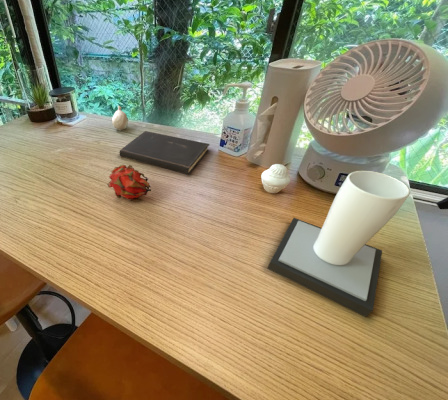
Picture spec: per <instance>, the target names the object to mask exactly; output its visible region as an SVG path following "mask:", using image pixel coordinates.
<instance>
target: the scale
mask: <svg viewBox="0 0 448 400" xmlns="http://www.w3.org/2000/svg"><path fill="white" fill-rule="evenodd" d="M321 229H322V226H318V225H315V224H312V223H311V222H310V223H309V222H307V221H304V220H302V219H299V218H296V217H293V218H292V220H291V222H290V223H289V226H288V227H287V229H286V231H285V232H284V235H283V236H282V238H281V240H280V242H279V243H278V246H277V247H276V250H275V252H274V254H273V255H272V258H271V259H270V260H269V263H268V266H267V268H266V269H267V270H269V271H272V272H274V273H275V274H277V275H280V276H281V277H283V278H286V279H287V280H290V281H292V282H294V283H295V284H298V285H300V286H301V287H304V288H305V289H308V290H310V291H312V292H314V293H316V294H318V295H320V296H322V297H324V298H326V299H328V300H330V301H332V302H334V303H336V304H338V305H340V306H341V307H345V308H346V309H348V310H350V311H352V312H355V313H356V314H358V315H361V316H362V317H364V318H366V317H367V316H369V315H370V314H371V313H372V312H373V311H374V305H375V301H376V293H377V287H378V286H377V285H378V280H379V274H380V268H381V263H382V262H381V261H382V254H383V249H380V248H377V247H374V246H372V245H369V244H367V243H366V244H365V245H364V246H363V247H362V248H361V249H360V250H359V251H358V252H357V253H356V255H355V256H354V257H353V258H352V259H351V261H350V262H349V263H347V264H345V265H333V264H330V263H327V262H325V261H323V260H322V259H320V258H319V257H318V256H317V255H316V254H315V252H314V249H313V246H314V243H315V241H316V239H317V238H318V236H319V233H320V231H321Z"/></svg>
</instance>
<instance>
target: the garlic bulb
mask: <svg viewBox="0 0 448 400" xmlns="http://www.w3.org/2000/svg"><path fill="white" fill-rule="evenodd" d="M117 108H118V109H117V110H116V111H115V112H114V113H113V116H112V119H111V124H112V126H113V127H114V128H115V129H116V130H118V131H122V130H125V129H127V127H128V125H129V117H128V115H127V113H126V112H124V111H122V108H123V107H122V106H120V105H118V106H117Z"/></svg>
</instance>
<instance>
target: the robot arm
mask: <svg viewBox="0 0 448 400" xmlns="http://www.w3.org/2000/svg"><path fill="white" fill-rule="evenodd" d="M436 206H437V208H438V209H439V210H448V196H447V197H445V198H443V199H441V200H439V201H438V202H436Z"/></svg>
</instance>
